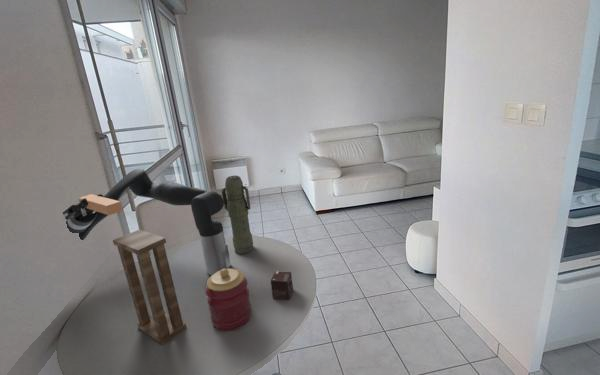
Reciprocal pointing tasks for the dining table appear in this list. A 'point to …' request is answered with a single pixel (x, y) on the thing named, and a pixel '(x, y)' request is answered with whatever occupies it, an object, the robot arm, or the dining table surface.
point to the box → (282, 285)
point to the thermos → (238, 213)
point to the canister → (228, 299)
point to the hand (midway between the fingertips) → (93, 198)
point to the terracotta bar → (102, 204)
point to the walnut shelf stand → (150, 284)
